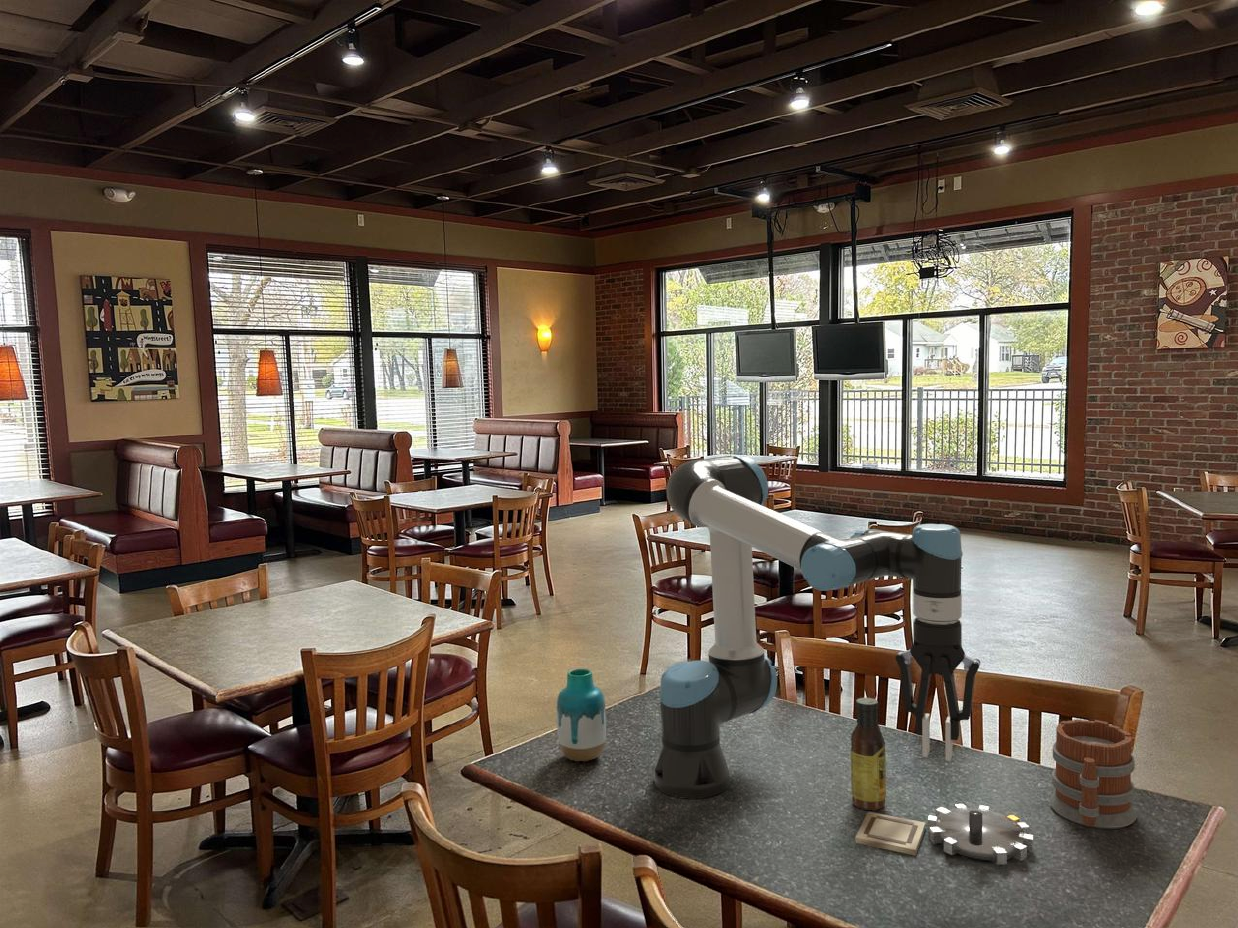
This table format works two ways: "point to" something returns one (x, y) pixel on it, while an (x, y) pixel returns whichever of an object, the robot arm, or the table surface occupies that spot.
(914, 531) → the robot arm
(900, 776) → the table surface
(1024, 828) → the sprocket
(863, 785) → the sauce bottle
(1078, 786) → the mug
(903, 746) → the table surface
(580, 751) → the vase
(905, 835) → the marked pad
